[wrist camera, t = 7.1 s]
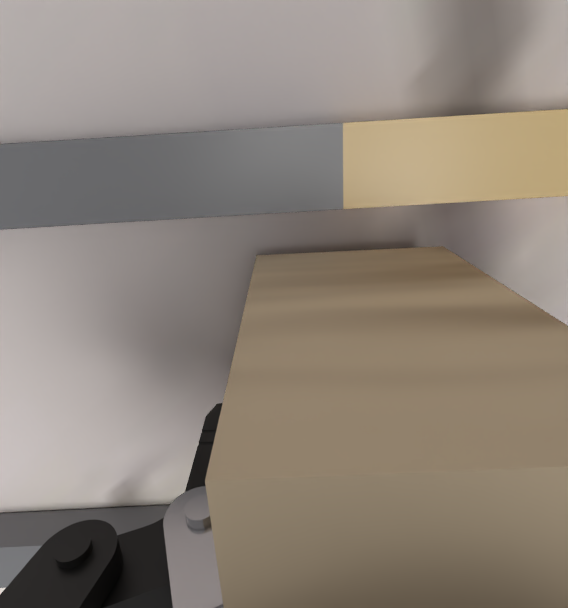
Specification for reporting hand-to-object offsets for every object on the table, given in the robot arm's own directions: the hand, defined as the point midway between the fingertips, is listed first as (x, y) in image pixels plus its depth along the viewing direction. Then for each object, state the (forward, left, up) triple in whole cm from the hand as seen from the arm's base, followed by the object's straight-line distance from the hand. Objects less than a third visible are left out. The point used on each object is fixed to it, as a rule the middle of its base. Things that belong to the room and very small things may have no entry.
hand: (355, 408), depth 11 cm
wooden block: (0, 0, -1) cm, 1 cm away
